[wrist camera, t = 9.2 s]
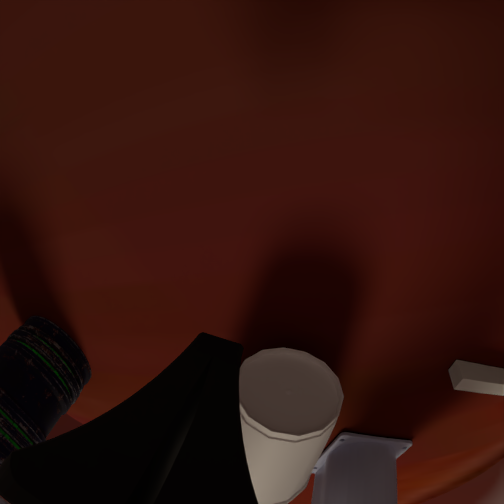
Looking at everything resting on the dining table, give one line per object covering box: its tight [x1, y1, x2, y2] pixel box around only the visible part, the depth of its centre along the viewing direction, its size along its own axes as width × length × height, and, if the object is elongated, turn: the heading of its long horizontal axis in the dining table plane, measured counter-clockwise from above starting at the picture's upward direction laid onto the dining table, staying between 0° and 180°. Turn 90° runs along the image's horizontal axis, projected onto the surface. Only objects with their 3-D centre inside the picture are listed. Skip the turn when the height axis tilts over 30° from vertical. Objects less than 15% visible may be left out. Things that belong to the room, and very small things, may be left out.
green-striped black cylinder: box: [0, 316, 91, 465], centre depth 23 cm, size 10×10×15 cm
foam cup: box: [239, 347, 344, 504], centre depth 20 cm, size 10×9×13 cm
